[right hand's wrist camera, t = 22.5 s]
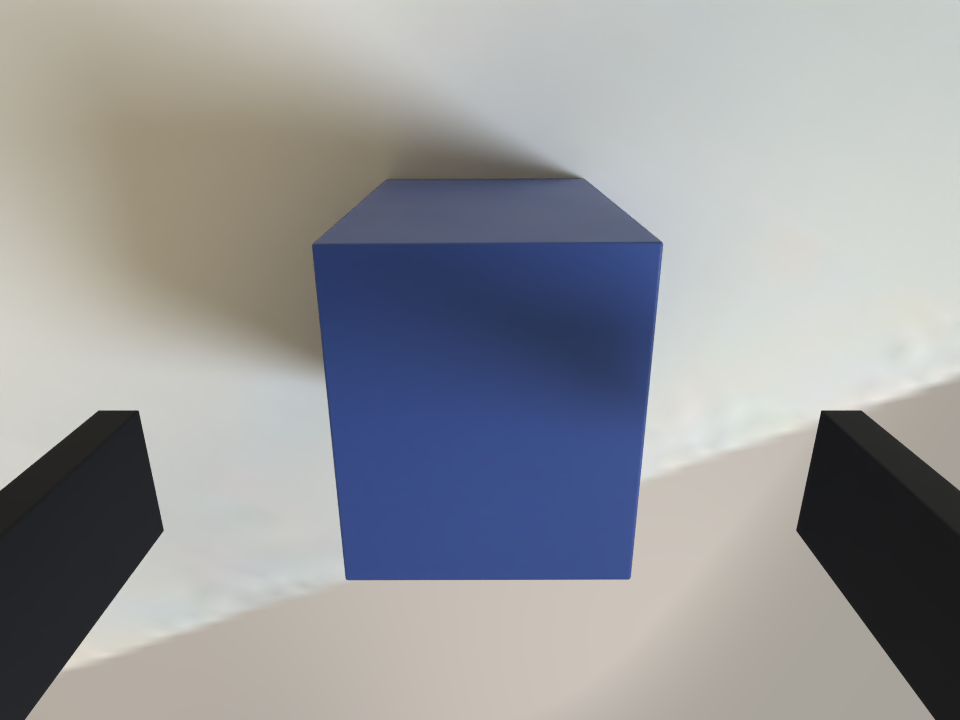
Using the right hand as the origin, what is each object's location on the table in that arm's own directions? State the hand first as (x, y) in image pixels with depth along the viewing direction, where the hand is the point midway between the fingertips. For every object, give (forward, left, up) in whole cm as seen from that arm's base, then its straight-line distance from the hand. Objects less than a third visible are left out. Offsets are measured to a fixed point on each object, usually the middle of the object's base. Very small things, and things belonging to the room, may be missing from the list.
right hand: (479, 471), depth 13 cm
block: (0, +1, -15) cm, 15 cm away
